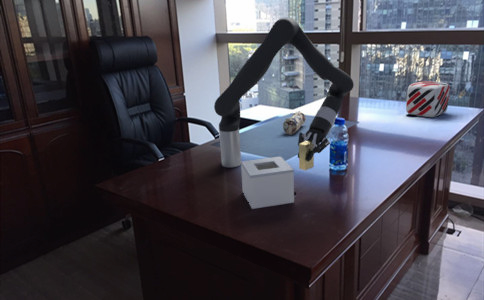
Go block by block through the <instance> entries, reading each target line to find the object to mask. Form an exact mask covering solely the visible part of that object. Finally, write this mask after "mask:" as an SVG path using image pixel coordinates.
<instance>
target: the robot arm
mask: <svg viewBox="0 0 484 300" xmlns="http://www.w3.org/2000/svg"><path fill="white" fill-rule="evenodd" d="M287 43H289V44H290V45H291V46H293V47H294V48H295V49H296V50H297V51H298V52H299V53H300V55H301V56H302V58H303V59H304V61H305V62H306V64H307V65H308V66H309V68H310V69H311V70H312V71H313V72H314V73H315V74H316V75H317V76H318V77H319V78H320V79H321V80H323V81H326V80H327V81H329V82H331V84H330V86H329V88H328V91H327V93H326V95H325V98H324V100H323V102H322V103H321V105H320V107H319V108H318V110H317V112H316V113H315V115H314V117H313V119H312V121H311V123H310V125H309V129H308V130H307V131H306V132H305V133H302V132H299V133H298V142H297V145H298V147H299V144H300V143H302V142H305V141H312V146H311V149H310V150H309V152H308V154H307V156H306V158H305V159H306V161H308V162H309V161H310V160H311V159H312V157H313V155H314V156H315V154H321V152H322V151H324V150H325V149H326V148H327V147H328V146H329V145H330V144H331V142H330V140H329V139H328V138H327V136H328V135H329V132H330V130H331V129H332V126H333V125H334V123H335V121H336V118H337V116H338V114H339V113H340V109H341V108H342V105H343V99H344V97H345V96H346V95H347V94H348V93H350V92H351V91H352V90H353V88H354V86H355V85H354V80H353V79H352V77H351V76H350V75H349V74H348V73H347V72H345V71H343V70H342V69H341V68H339V67H337V66H335V64H333V63H332V61H331V60H329V58H327V56H326V55H324V53H323V52H322V51H320V49H319V48H317V46H315V45H314V43H313V42H312V41H311V40H310V39H309V37H308V36H307V35H306V33H305V32H304V30H303V29H302V27H301V26H300V25H299V23H298V22H297V21H296V20H295V19H294V18H293V17H282V18H279V19H277V20H276V21H275V22H274V23H273V24H272V26H271V29H270V30H269V31H268V32H267V35H266V36H265V38H264V40H263V41H262V43H260V45H259V46H258V47H257V48H256V49H255V51H254V52H253V53H252V54H251V55H250V57H248V59H247V60H246V62H245V63H244V64H243V65H242V67H241V68H240V70H239V71H238V73H237V74H236V75H235V77H234V78H233V80H232V81H231V83H230V84H229V85H228V86H227V88H225V90H223V92H222V93H221V94H220V95H219V96H218V97H217V98H216V100H215V101H214V107H213V108H214V111H215V113H216V114H217V115H218V116H220V117H221V119H220V122H219V123H218V133H219V144H220V145H219V147H220V156H221V157H220V160H221V166H222V167H224V168H236V167H240V166H241V162H242V152H241V135H240V123H241V103H240V100H241V99H242V97H243V96H245V95H246V94H247V93H248V92H249V91H250V90H252V89H253V87H255V86H256V85H257V84H258V83H259V82H260V81H261V79H262V78H263V77H264V75H266V73H267V72H268V71H269V69H270V66H271V64H272V62H274V61H273V60H274V58H275V57H276V56H277V54H278V53H279V51H281V50H282V48H283V47H284V46H285V45H287ZM297 158H298V159H299V152H298V153H297Z"/></svg>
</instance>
